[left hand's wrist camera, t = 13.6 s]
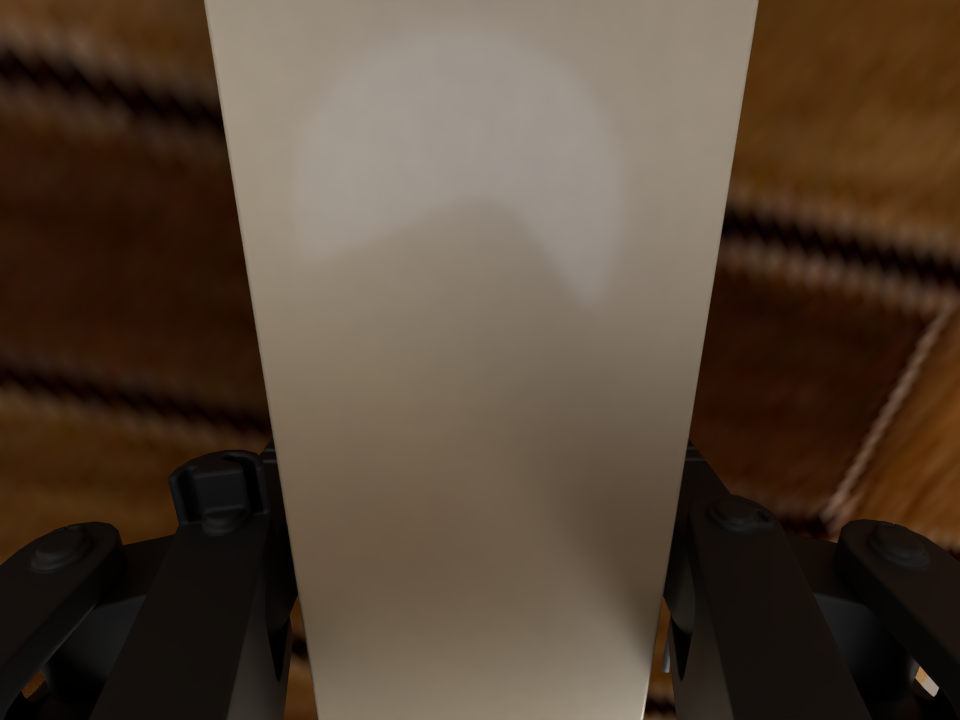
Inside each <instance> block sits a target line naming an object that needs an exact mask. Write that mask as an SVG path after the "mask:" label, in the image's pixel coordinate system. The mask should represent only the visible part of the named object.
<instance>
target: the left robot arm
mask: <svg viewBox="0 0 960 720" xmlns="http://www.w3.org/2000/svg"><path fill="white" fill-rule="evenodd" d="M168 481H169V485H170V489H171V493H172V497H173V501H174V505H175V509H176V513H177V517H178V521H179V526H178V529H177V531H176V533H175V534H173V535H170V536H166V537H162V538H157V539H152V540H147V541H142V542H137V543H132V544H127V545H122V541H121V538H120V535H119V531H118V530H117V529H116V528H115V527H114V526H112V525H111V524H108V523H101V522H89V523H79V524H73V525H69V526H68V527H62V528H59V529H56V530H53V531H52V532H50V533H48V534H46V535H44V536H42V537H39V538H37V539H35V540H34V541H32V542H31V543H29V544H28V545H26V546H25V547H23V548H22V549H20V550H19V551H17V552H16V553H15V554H14V555H13V556H11V557H10V558H9V559H8V560H7V561H5V562H4V563H3V564H2V565H1V566H0V720H283V718H284V710H285V701H286V693H287V684H288V675H289V667H290V658H291V650H292V641H293V635H292V628H291V622H290V616H289V615H290V612H291V610H292V607H293V605H294V603H295V600H296V598H297V595H298V589H297V583H296V577H295V570H294V564H293V558H292V551H291V545H290V539H289V533H288V526H287V520H286V514H285V507H284V501H283V495H282V488H281V482H280V476H279V469H278V463H277V457H276V451H275V444H274V438H272V439H271V441H270V442H269V443H268V445H267V446H266V447H265V449H264V452H262V453H261V454H260V455H257V454H256V453H254V452H250V451H245V450H224V451H219V452H214V453H209V454H206V455H203V456H200V457H198V458H195V459H192V460H190V461H188V462H187V463H185V464H183V465H182V466H180V467H178V468H177V469H176V470H175V471H174V472H173V473H172V474H171V475H170V476H169V477H168ZM663 596H664V599H665V601H666V603H667V606H668V608H669V611H670V613H671V616H670V622H669V628H668V634H667V639H666V645H665V651H664V657H663V664H662V671H661V672H666V673H668V672H669V667H670V666H671V674H672V683H673V691H674V700H675V708H676V717H677V720H960V563H959V562H958V561H957V560H956V559H955V558H953V557H952V556H951V555H950V554H949V553H947V552H946V551H945V550H944V549H942V548H941V547H939V546H938V545H936V544H935V543H933V542H932V541H930V540H929V539H927V538H926V537H924V536H922V535H920V534H918V533H915V532H913V531H911V530H909V529H908V528H906V527H903V526H900V525H897V524H895V525H894V524H893V523H889V522H885V521H876V520H867V519H862V520H856V521H850V522H848V523H847V524H846V525H845V526H843V527H842V529H841V533H840V536H839V539H838V543H834V542H829V541H824V540H819V539H814V538H809V537H804V536H799V535H795V534H791V533H788V532H784V530H783V528H782V526H781V524H780V522H779V521H778V520H777V519H776V517H775V516H774V515H773V513H771V512H770V511H768V510H767V509H765V508H764V507H763V506H761V505H760V504H758V503H756V502H753V501H751V500H749V499H746V498H744V497H741V496H736V495H732V494H730V492H729V491H728V490H727V488H726V487H725V486H724V484H723V483H722V482H721V480H720V479H719V478H718V476H717V475H716V474H715V472H714V471H713V470H712V468H711V467H710V466H709V464H708V463H707V462H706V461H704V458H703V457H702V455H701V454H700V453H699V451H698V450H696V449H695V446H694V445H693V443H692V442H691V441H690V439H689V438H688V443H687V449H686V455H685V461H684V468H683V474H682V480H681V486H680V493H679V499H678V505H677V511H676V517H675V524H674V530H673V536H672V542H671V548H670V555H669V561H668V567H667V573H666V580H665V586H664V592H663ZM919 667H921V668H922V669H923V670H924V671H925V672H926V673H927V674H928V676H929V677H930V678H931V679H932V680H933V681H934V682H935V684H936V685H937V686H938V687H939V690H938V692H937V694H936V695H935V696H934V697H933V696H932V695H931V694H930V693H928V692H927V691H926V690H925V689H924V688H923V687H922V685H921V684H920V683H919V682H918V681H917V680H916V678H915V677H916V674H917V672H918V669H919ZM40 669H41V671H42V673H43V676H44V678H45V681H44V682H43V683H42V684H41V686H40V687H39V688H38V689H37V690H36V691H35V692H34V693H33V694H32V695H31V696H29V697H28V698H27V699H26V698H25V697H24V696H23V693H22V691H21V690H22V689H23V688H24V687H25V686H26V685H27V684H28V682H29V681H30V680H31V679H32V678H33V677H34V676H35V674H36V673H37V672H38V671H39V670H40Z"/></svg>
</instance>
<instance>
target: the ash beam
mask: <svg viewBox="0 0 960 720" xmlns="http://www.w3.org/2000/svg"><path fill="white" fill-rule="evenodd" d="M758 1H759V0H204V3H205V9H206V16H207V22H208V28H209V35H210V41H211V47H212V53H213V60H214V66H215V72H216V79H217V85H218V91H219V98H220V104H221V110H222V116H223V123H224V129H225V135H226V142H227V148H228V154H229V161H230V167H231V173H232V180H233V186H234V192H235V198H236V205H237V211H238V217H239V224H240V230H241V236H242V243H243V249H244V255H245V261H246V268H247V274H248V280H249V287H250V293H251V299H252V306H253V312H254V318H255V325H256V331H257V337H258V343H259V350H260V356H261V362H262V369H263V375H264V381H265V388H266V394H267V400H268V406H269V413H270V419H271V425H272V432H273V438H274V444H275V451H276V457H277V463H278V469H279V476H280V482H281V488H282V495H283V501H284V507H285V514H286V520H287V526H288V533H289V539H290V545H291V551H292V558H293V564H294V570H295V577H296V583H297V589H298V596H299V602H300V608H301V614H302V621H303V627H304V633H305V640H306V646H307V652H308V659H309V665H310V671H311V678H312V684H313V690H314V696H315V703H316V709H317V715H318V720H643V716H644V710H645V704H646V698H647V692H648V685H649V679H650V673H651V667H652V660H653V654H654V648H655V642H656V636H657V629H658V623H659V617H660V611H661V604H662V598H663V592H664V586H665V580H666V573H667V567H668V561H669V555H670V548H671V542H672V536H673V530H674V524H675V517H676V511H677V505H678V499H679V493H680V486H681V480H682V474H683V468H684V461H685V455H686V449H687V443H688V437H689V430H690V424H691V418H692V412H693V405H694V399H695V393H696V387H697V381H698V374H699V368H700V362H701V356H702V349H703V343H704V337H705V331H706V325H707V318H708V312H709V306H710V300H711V294H712V287H713V281H714V275H715V269H716V262H717V256H718V250H719V244H720V238H721V231H722V225H723V219H724V213H725V206H726V200H727V194H728V188H729V182H730V175H731V169H732V163H733V157H734V150H735V144H736V138H737V132H738V126H739V119H740V113H741V107H742V101H743V94H744V88H745V82H746V76H747V70H748V63H749V57H750V51H751V45H752V39H753V32H754V26H755V20H756V14H757V7H758Z"/></svg>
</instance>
